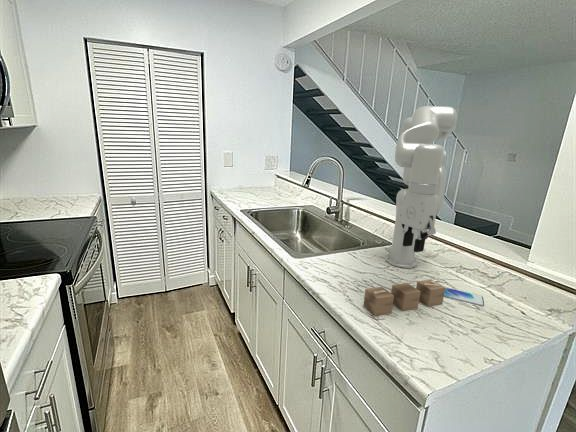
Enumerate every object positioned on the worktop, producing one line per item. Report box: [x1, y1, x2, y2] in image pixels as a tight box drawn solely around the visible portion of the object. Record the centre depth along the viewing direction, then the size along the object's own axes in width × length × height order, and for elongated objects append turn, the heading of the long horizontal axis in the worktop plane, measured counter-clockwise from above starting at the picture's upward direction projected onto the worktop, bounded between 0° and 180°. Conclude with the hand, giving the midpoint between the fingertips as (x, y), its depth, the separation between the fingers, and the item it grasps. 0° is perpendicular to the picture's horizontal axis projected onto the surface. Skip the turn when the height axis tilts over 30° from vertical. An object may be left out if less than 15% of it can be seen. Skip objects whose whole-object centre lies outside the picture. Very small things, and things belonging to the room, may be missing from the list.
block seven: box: [415, 278, 446, 307], centre depth 103 cm, size 6×6×6 cm
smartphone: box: [444, 286, 485, 307], centre depth 108 cm, size 7×1×15 cm
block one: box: [363, 286, 394, 317], centre depth 96 cm, size 6×6×6 cm
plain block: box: [390, 282, 421, 312], centre depth 100 cm, size 6×6×6 cm
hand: (412, 248), depth 96 cm, fingers open, 4 cm apart
